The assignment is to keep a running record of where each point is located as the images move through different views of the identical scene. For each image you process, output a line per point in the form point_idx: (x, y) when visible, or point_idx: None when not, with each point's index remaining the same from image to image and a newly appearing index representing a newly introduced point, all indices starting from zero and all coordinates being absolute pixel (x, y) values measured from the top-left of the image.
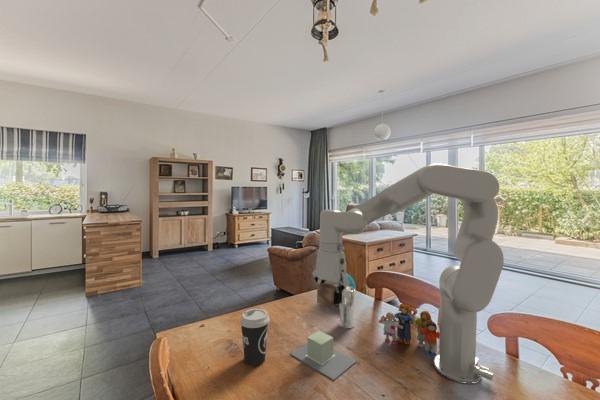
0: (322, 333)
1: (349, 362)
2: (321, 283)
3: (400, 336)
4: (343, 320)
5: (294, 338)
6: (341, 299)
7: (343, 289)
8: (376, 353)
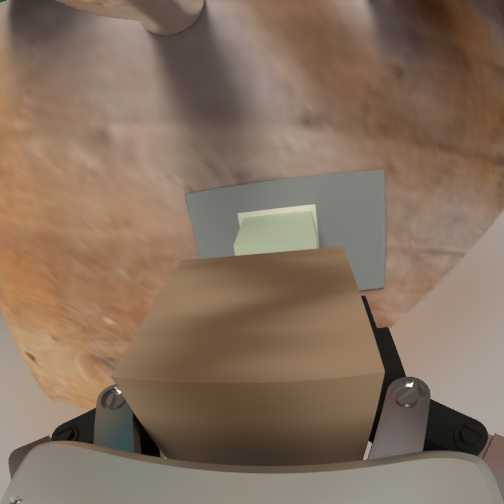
0: (259, 250)
1: (373, 196)
2: (170, 458)
3: None
4: (166, 22)
5: (142, 240)
6: (388, 330)
7: (445, 416)
8: (396, 72)
